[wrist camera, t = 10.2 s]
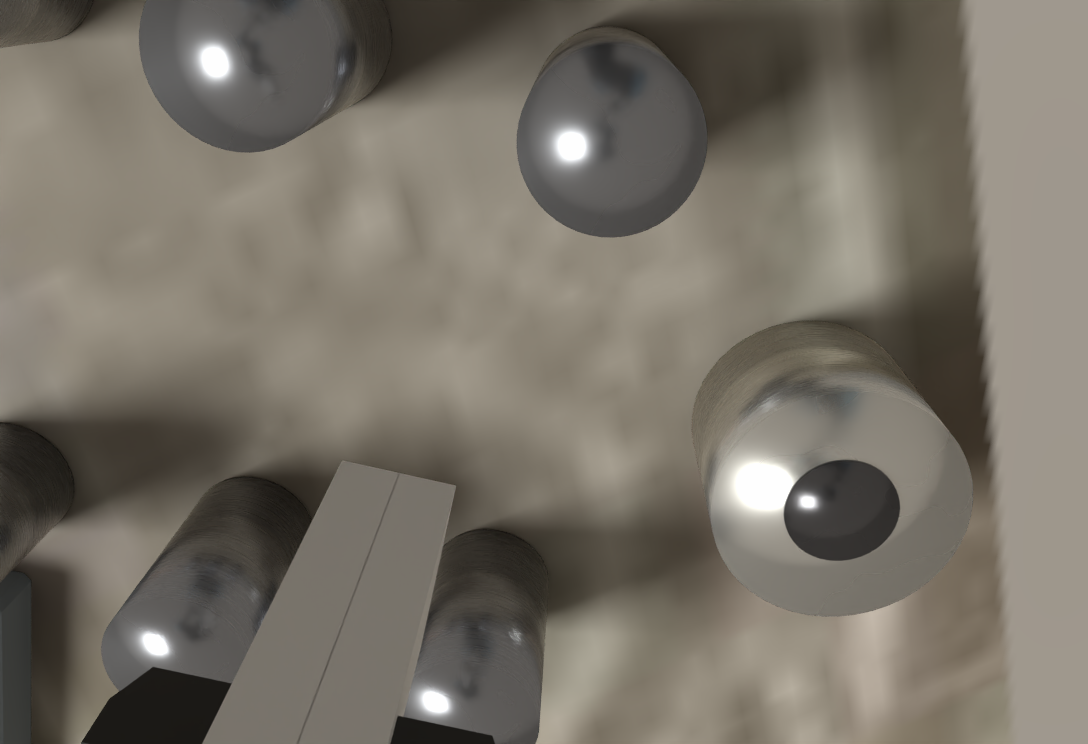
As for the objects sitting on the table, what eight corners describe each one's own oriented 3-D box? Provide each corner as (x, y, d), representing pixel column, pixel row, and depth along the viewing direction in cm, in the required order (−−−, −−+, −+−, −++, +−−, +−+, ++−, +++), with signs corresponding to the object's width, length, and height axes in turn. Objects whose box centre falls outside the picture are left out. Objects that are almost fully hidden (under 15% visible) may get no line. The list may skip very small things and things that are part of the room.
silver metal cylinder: (718, 303, 22) (745, 373, 18) (938, 340, 22) (1012, 418, 18) (671, 497, 24) (687, 598, 20) (874, 529, 24) (928, 636, 20)
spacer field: (-55, -138, 19) (-264, -173, 14) (697, 46, 19) (731, 70, 15) (-47, 516, 25) (-195, 643, 20) (534, 640, 25) (522, 791, 21)
